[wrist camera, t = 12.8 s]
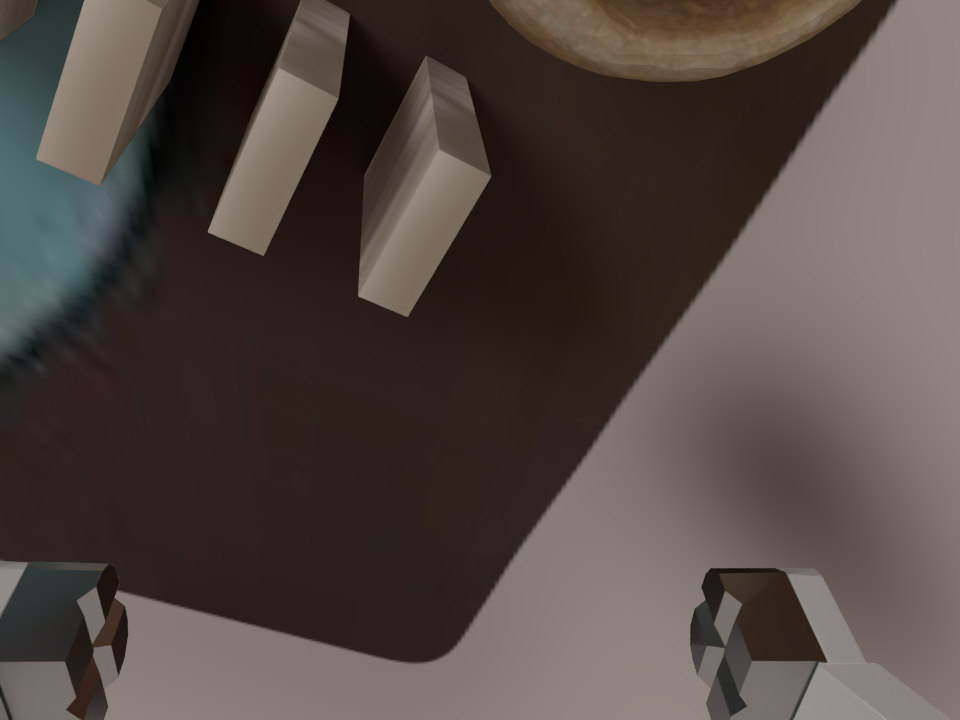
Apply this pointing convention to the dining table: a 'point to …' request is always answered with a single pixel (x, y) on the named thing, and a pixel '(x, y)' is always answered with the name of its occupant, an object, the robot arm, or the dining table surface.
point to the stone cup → (669, 33)
